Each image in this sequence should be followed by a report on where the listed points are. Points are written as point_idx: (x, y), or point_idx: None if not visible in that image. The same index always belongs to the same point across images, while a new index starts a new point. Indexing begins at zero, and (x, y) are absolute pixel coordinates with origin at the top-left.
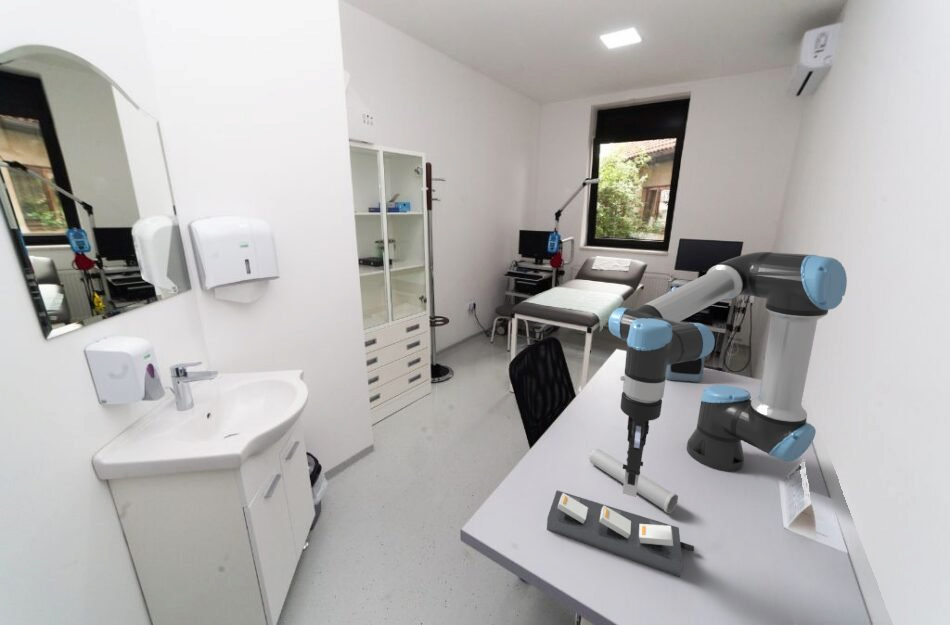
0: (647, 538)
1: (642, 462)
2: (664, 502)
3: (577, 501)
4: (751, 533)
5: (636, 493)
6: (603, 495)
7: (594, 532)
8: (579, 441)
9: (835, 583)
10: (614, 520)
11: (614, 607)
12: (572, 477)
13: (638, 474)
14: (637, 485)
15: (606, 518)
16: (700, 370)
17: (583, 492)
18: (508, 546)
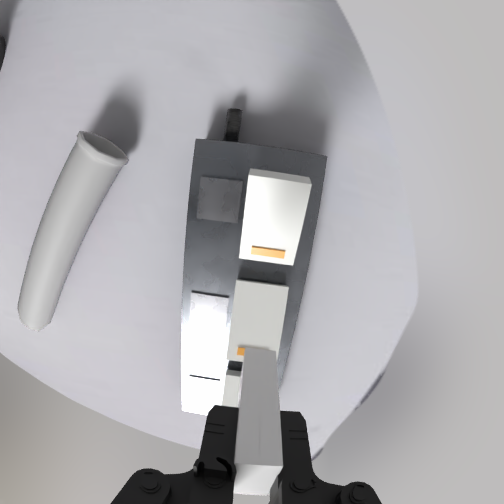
0: (296, 245)
1: (196, 464)
2: (110, 167)
3: (223, 399)
4: (142, 2)
5: (276, 362)
6: (123, 302)
7: (284, 352)
8: (13, 327)
9: None
10: (264, 331)
11: (404, 296)
12: (104, 357)
13: (372, 492)
14: (278, 392)
15: None
16: None
17: (135, 342)
18: (317, 434)
